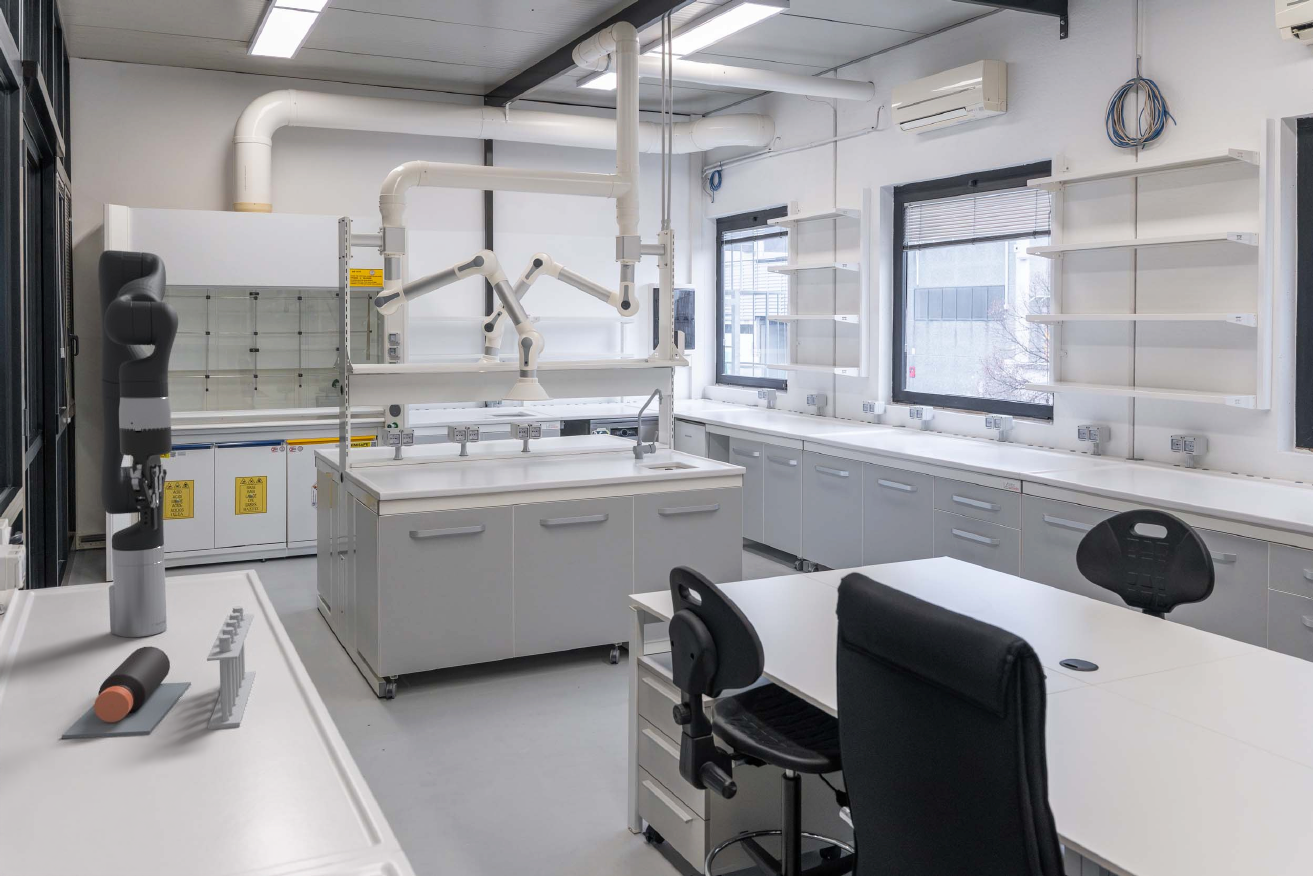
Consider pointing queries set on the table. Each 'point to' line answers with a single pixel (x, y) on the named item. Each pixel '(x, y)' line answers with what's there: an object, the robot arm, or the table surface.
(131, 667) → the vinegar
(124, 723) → the slate mat
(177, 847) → the table surface
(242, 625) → the test tube rack
